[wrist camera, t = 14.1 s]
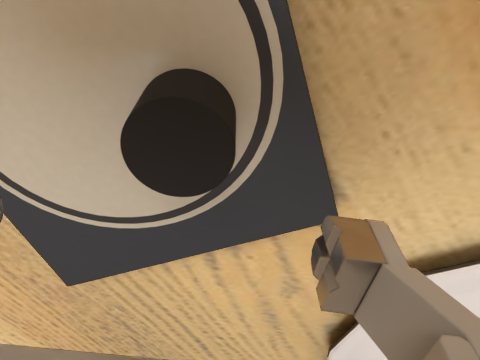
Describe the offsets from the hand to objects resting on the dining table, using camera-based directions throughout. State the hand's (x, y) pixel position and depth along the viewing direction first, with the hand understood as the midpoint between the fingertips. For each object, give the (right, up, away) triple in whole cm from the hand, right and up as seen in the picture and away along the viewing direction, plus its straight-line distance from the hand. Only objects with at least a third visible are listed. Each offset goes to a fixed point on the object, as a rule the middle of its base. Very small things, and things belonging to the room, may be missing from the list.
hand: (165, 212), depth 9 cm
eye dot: (0, +3, +6) cm, 7 cm away
